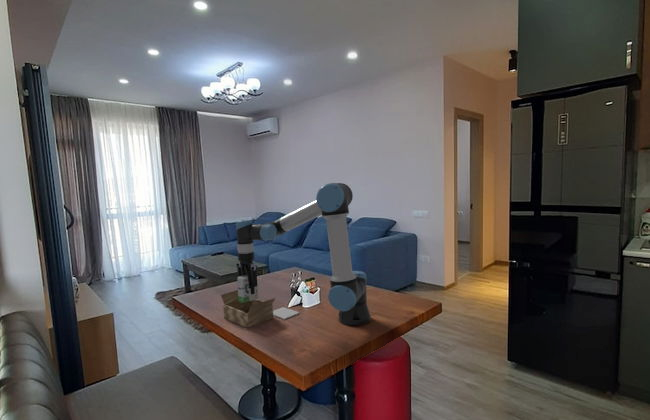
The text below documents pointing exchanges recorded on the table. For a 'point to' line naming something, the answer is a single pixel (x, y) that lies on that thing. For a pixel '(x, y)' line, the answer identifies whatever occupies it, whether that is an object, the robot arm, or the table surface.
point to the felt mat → (284, 313)
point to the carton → (256, 313)
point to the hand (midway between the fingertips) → (248, 299)
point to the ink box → (245, 289)
